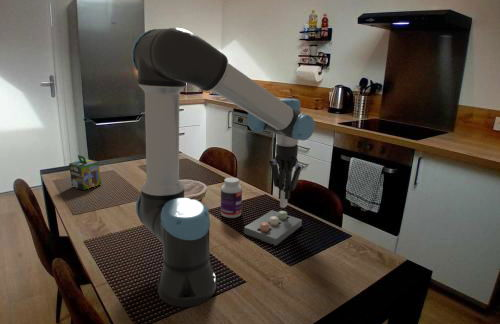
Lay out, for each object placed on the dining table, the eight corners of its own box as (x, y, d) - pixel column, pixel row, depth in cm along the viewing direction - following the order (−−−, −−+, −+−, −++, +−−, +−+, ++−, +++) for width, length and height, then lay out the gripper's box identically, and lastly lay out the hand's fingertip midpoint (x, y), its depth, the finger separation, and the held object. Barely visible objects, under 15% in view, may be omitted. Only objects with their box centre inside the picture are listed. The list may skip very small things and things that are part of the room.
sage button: (283, 222, 126) (284, 215, 125) (276, 219, 128) (276, 212, 127) (288, 219, 129) (288, 212, 128) (280, 216, 130) (281, 210, 130)
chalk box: (101, 185, 160) (98, 154, 156) (83, 191, 153) (79, 159, 148) (89, 181, 165) (86, 151, 160) (71, 187, 157) (67, 155, 153)
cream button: (275, 228, 121) (275, 221, 121) (267, 225, 123) (267, 218, 122) (279, 225, 124) (280, 217, 123) (272, 222, 126) (272, 215, 125)
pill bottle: (238, 220, 130) (239, 184, 126) (218, 217, 132) (218, 182, 128) (243, 211, 138) (244, 177, 134) (224, 209, 139) (224, 175, 135)
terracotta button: (265, 234, 117) (266, 227, 116) (258, 232, 119) (258, 224, 118) (270, 231, 119) (271, 223, 118) (263, 228, 121) (263, 221, 120)
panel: (275, 245, 114) (276, 239, 113) (244, 233, 121) (244, 227, 120) (301, 225, 128) (301, 219, 127) (271, 216, 135) (271, 210, 134)
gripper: (309, 144, 119) (304, 207, 126) (276, 139, 126) (273, 198, 133) (298, 149, 113) (294, 214, 120) (265, 142, 121) (263, 204, 128)
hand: (283, 206), depth 127 cm, fingers closed
